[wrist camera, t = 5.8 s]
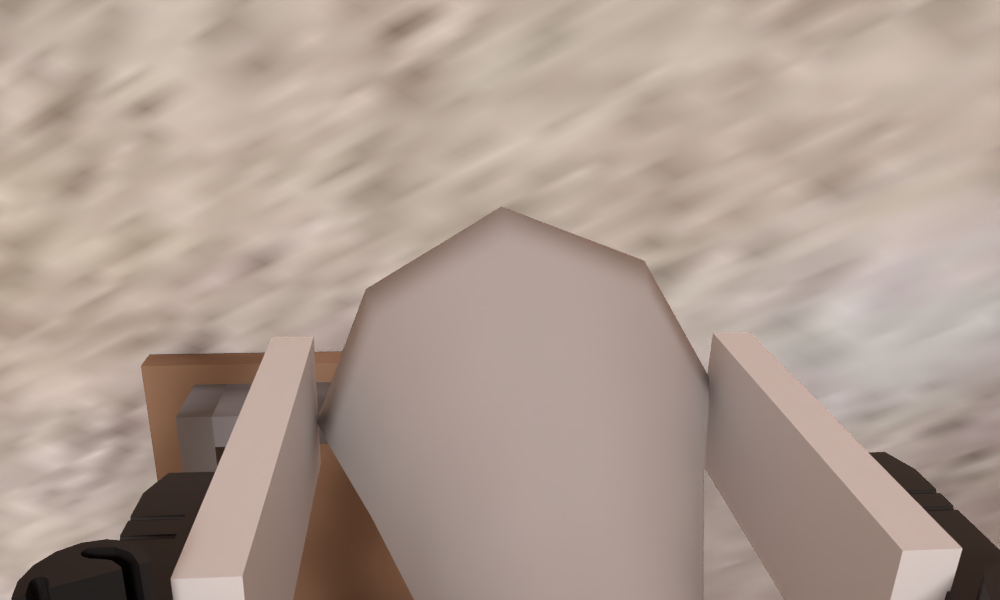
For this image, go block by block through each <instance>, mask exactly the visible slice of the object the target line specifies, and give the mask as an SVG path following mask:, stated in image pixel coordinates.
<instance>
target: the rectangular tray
mask: <svg viewBox="0 0 1000 600" xmlns="http://www.w3.org/2000/svg"><path fill="white" fill-rule="evenodd" d="M264 354H265V353H224V354H160V355H149V356H148V357H147V359H146V360H145V361H144V363H143V364H142V366H141V369H142V376H143V383H144V389H145V396H146V403H147V410H148V417H149V424H150V431H151V438H152V445H153V451H154V458H155V465H156V472H157V479H158V481H159V480H160V479H162V478H163V477H164V476H165V475H166V474H168V473H180V472H215V471H216V469H217V467H218V464H219V462H220V459H221V457H222V455H223V452H224V450H225V447H226V445H227V443H228V440H229V438H230V436H231V433H232V431H233V428H234V426H235V424H236V421H237V419H238V416H239V414H240V412H241V409H242V407H243V404H244V402H245V400H246V397H247V395H248V393H249V390H250V388H251V385H252V383H253V381H254V378H255V376H256V373H257V371H258V369H259V366H260V364H261V361H262V359H263V357H264ZM341 355H342V352H315V370H316V388H317V406H318V416H319V414H320V411H321V408H322V406H323V403H324V400H325V398H326V395H327V392H328V390H329V387H330V384H331V382H332V379H333V376H334V374H335V371H336V368H337V365H338V363H339V360H340V357H341ZM319 443H320V461H321V464H320V469H319V474H318V479H317V484H316V489H315V494H314V499H313V504H312V509H311V514H310V519H309V524H308V528H307V533H306V538H305V543H304V548H303V553H302V558H301V563H300V568H299V573H298V578H297V583H296V588H295V593H294V598H293V600H414V599H413V597H412V595H411V593H410V591H409V589H408V587H407V585H406V583H405V581H404V579H403V577H402V575H401V574H400V572H399V570H398V568H397V566H396V564H395V562H394V560H393V558H392V556H391V554H390V552H389V550H388V548H387V546H386V544H385V542H384V540H383V538H382V536H381V535H380V533H379V531H378V529H377V527H376V525H375V523H374V521H373V519H372V517H371V515H370V514H369V512H368V510H367V509H366V507H365V505H364V504H363V502H362V500H361V498H360V497H359V495H358V493H357V492H356V490H355V488H354V487H353V485H352V483H351V482H350V480H349V478H348V477H347V475H346V473H345V471H344V470H343V468H342V466H341V465H340V463H339V461H338V460H337V458H336V456H335V455H334V453H333V451H332V450H331V448H330V446H329V444H328V442H327V440H326V438H325V437H324V435H323V433H322V431H321V429H320V427H319Z"/></svg>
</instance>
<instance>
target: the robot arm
mask: <svg viewBox="0 0 1000 600" xmlns="http://www.w3.org/2000/svg"><path fill="white" fill-rule="evenodd" d="M708 378H709V409H708V423H707V437H706V451H705V465H704V467H705V469H706V471H707V472H708V474H709V476H710V477H711V479H712V480H713V482H714V484H715V485H716V487H717V489H718V490H719V492H720V494H721V495H722V497H723V499H724V500H725V502H726V504H727V505H728V507H729V509H730V510H731V512H732V514H733V515H734V517H735V518H736V520H737V522H738V523H739V525H740V527H741V528H742V530H743V532H744V533H745V535H746V537H747V538H748V540H749V542H750V543H751V545H752V547H753V548H754V550H755V551H756V553H757V555H758V556H759V558H760V560H761V561H762V563H763V565H764V566H765V568H766V570H767V571H768V573H769V575H770V576H771V578H772V580H773V581H774V583H775V584H776V586H777V588H778V589H779V591H780V593H781V594H782V596H783V598H784V599H785V600H1000V550H999V549H998V548H997V547H996V546H995V545H994V544H993V543H992V542H991V541H990V540H989V539H988V538H986V537H985V536H984V535H983V534H982V533H981V532H980V531H979V530H978V529H977V528H976V527H975V526H974V525H973V524H972V523H971V522H970V521H969V520H968V519H967V518H966V517H965V516H963V515H962V514H961V513H960V512H959V511H958V510H954V509H953V505H952V504H951V503H950V502H949V501H948V500H947V499H946V498H945V497H944V496H943V495H942V494H940V493H936V489H935V488H934V487H933V486H932V485H931V484H930V483H929V482H928V481H927V480H926V479H925V478H924V477H923V476H922V475H921V474H920V473H919V472H917V471H916V470H915V469H914V468H912V467H910V466H908V465H907V464H905V463H903V462H901V461H900V460H898V459H896V458H894V457H893V456H891V455H889V454H887V453H886V452H873V453H868V452H867V451H866V450H865V449H864V448H863V447H862V446H861V445H860V444H859V443H858V441H857V440H856V439H855V438H854V437H853V436H852V435H851V434H850V433H849V432H848V431H847V430H846V429H845V428H844V427H843V426H842V425H841V424H840V423H839V422H838V421H837V420H836V419H835V418H834V417H833V416H832V415H831V414H830V413H829V412H828V411H827V410H826V409H825V408H824V407H823V406H822V405H821V404H820V403H819V402H818V401H817V400H816V399H815V398H814V397H813V396H812V395H811V394H810V393H809V392H808V391H807V390H806V389H805V388H804V386H803V385H802V384H801V383H800V382H799V381H798V380H797V379H796V378H795V377H794V376H793V375H792V374H791V373H790V372H789V371H788V370H787V369H786V368H785V367H784V366H783V365H782V364H781V363H780V362H779V361H778V360H777V359H776V358H775V357H774V356H773V355H772V354H771V353H770V352H769V351H768V350H767V349H766V348H765V347H764V346H763V345H762V344H761V343H760V342H759V341H758V340H757V339H756V338H755V337H754V336H753V335H752V334H751V333H713V337H712V344H711V352H710V359H709V366H708ZM320 464H321V461H320V443H319V425H318V406H317V388H316V370H315V352H314V337H272V338H271V340H270V342H269V345H268V347H267V350H266V352H265V354H264V357H263V359H262V361H261V364H260V366H259V369H258V371H257V373H256V376H255V378H254V381H253V383H252V385H251V388H250V390H249V393H248V395H247V397H246V400H245V402H244V404H243V407H242V409H241V412H240V414H239V416H238V419H237V421H236V424H235V426H234V428H233V431H232V433H231V436H230V438H229V440H228V443H227V445H226V447H225V450H224V452H223V455H222V457H221V459H220V462H219V464H218V467H217V469H216V471H215V472H180V473H168V474H166V475H165V476H164V477H163V478H162V479H160V480H159V481H158V482H157V483H155V484H154V485H153V486H152V487H150V488H149V489H148V490H147V491H145V492H144V493H143V495H142V497H141V498H140V500H139V502H138V504H137V506H136V508H135V509H134V511H133V513H132V515H131V520H130V521H128V522H127V524H126V526H125V528H124V530H123V531H122V533H121V535H120V541H119V540H108V539H105V540H98V541H91V542H84V543H80V544H77V545H74V546H71V547H68V548H66V549H63V550H60V551H57V552H55V553H53V554H52V555H50V556H48V557H47V558H45V559H43V560H42V561H40V562H38V563H37V564H35V565H33V566H32V567H31V568H30V569H29V570H28V571H27V572H26V574H25V575H24V576H23V577H22V578H21V579H20V580H19V581H18V582H17V585H16V587H15V590H14V593H13V595H12V600H293V598H294V593H295V588H296V583H297V578H298V573H299V568H300V563H301V558H302V553H303V548H304V543H305V538H306V533H307V528H308V524H309V519H310V514H311V509H312V504H313V499H314V494H315V489H316V484H317V479H318V474H319V469H320Z"/></svg>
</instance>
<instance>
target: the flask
mask: <svg viewBox="0 0 1000 600" xmlns="http://www.w3.org/2000/svg"><path fill="white" fill-rule="evenodd" d="M708 409H709V378H708V374H707V373H706V371H705V369H704V367H703V365H702V364H701V362H700V360H699V358H698V357H697V355H696V353H695V351H694V349H693V348H692V346H691V344H690V342H689V340H688V339H687V337H686V335H685V333H684V331H683V330H682V328H681V326H680V324H679V322H678V321H677V319H676V317H675V315H674V313H673V312H672V310H671V308H670V306H669V304H668V303H667V301H666V299H665V297H664V295H663V294H662V292H661V290H660V288H659V286H658V285H657V283H656V281H655V279H654V277H653V276H652V274H651V272H650V270H649V269H648V267H647V265H646V263H645V261H643V260H641V259H638V258H635V257H633V256H630V255H627V254H625V253H622V252H620V251H617V250H614V249H612V248H609V247H606V246H604V245H601V244H598V243H596V242H593V241H590V240H588V239H585V238H583V237H580V236H577V235H575V234H572V233H569V232H567V231H564V230H561V229H559V228H556V227H553V226H551V225H548V224H546V223H543V222H540V221H538V220H535V219H532V218H530V217H527V216H524V215H522V214H519V213H516V212H514V211H511V210H509V209H506V208H503V207H500V208H499V209H497V210H495V211H494V212H492V213H490V214H489V215H487V216H486V217H484V218H482V219H481V220H479V221H477V222H476V223H474V224H472V225H471V226H469V227H467V228H466V229H464V230H463V231H461V232H459V233H458V234H456V235H454V236H453V237H451V238H449V239H448V240H446V241H444V242H443V243H441V244H440V245H438V246H436V247H435V248H433V249H431V250H430V251H428V252H426V253H425V254H423V255H421V256H420V257H418V258H417V259H415V260H413V261H412V262H410V263H408V264H407V265H405V266H403V267H402V268H400V269H398V270H397V271H395V272H394V273H392V274H390V275H389V276H387V277H385V278H384V279H382V280H380V281H379V282H377V283H375V284H374V285H372V286H371V287H369V288H367V289H366V290H365V293H364V296H363V298H362V301H361V304H360V306H359V309H358V312H357V314H356V317H355V320H354V323H353V325H352V328H351V331H350V333H349V336H348V339H347V341H346V344H345V347H344V349H343V352H342V355H341V357H340V360H339V363H338V365H337V368H336V371H335V374H334V376H333V379H332V382H331V384H330V387H329V390H328V392H327V395H326V398H325V400H324V403H323V406H322V408H321V411H320V414H319V416H318V425H319V427H320V429H321V431H322V433H323V435H324V437H325V438H326V440H327V442H328V444H329V446H330V448H331V450H332V451H333V453H334V455H335V456H336V458H337V460H338V461H339V463H340V465H341V466H342V468H343V470H344V471H345V473H346V475H347V477H348V478H349V480H350V482H351V483H352V485H353V487H354V488H355V490H356V492H357V493H358V495H359V497H360V498H361V500H362V502H363V504H364V505H365V507H366V509H367V510H368V512H369V514H370V515H371V517H372V519H373V521H374V523H375V525H376V527H377V529H378V531H379V533H380V535H381V536H382V538H383V540H384V542H385V544H386V546H387V548H388V550H389V552H390V554H391V556H392V558H393V560H394V562H395V564H396V566H397V568H398V570H399V572H400V574H401V575H402V577H403V579H404V581H405V583H406V585H407V587H408V589H409V591H410V593H411V595H412V597H413V599H414V600H703V528H704V465H705V451H706V437H707V423H708Z"/></svg>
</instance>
